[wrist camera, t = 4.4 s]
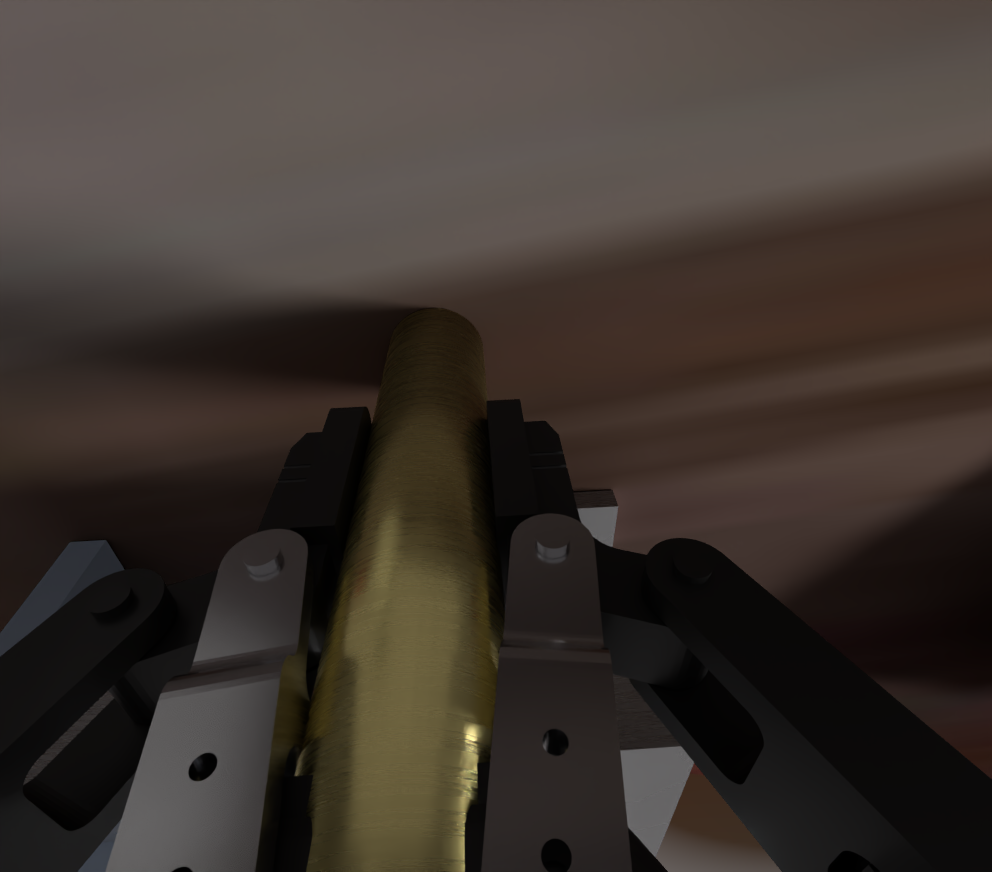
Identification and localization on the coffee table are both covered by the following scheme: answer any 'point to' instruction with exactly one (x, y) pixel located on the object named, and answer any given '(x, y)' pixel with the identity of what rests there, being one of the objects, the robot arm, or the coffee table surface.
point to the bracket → (52, 592)
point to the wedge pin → (411, 620)
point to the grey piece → (643, 737)
